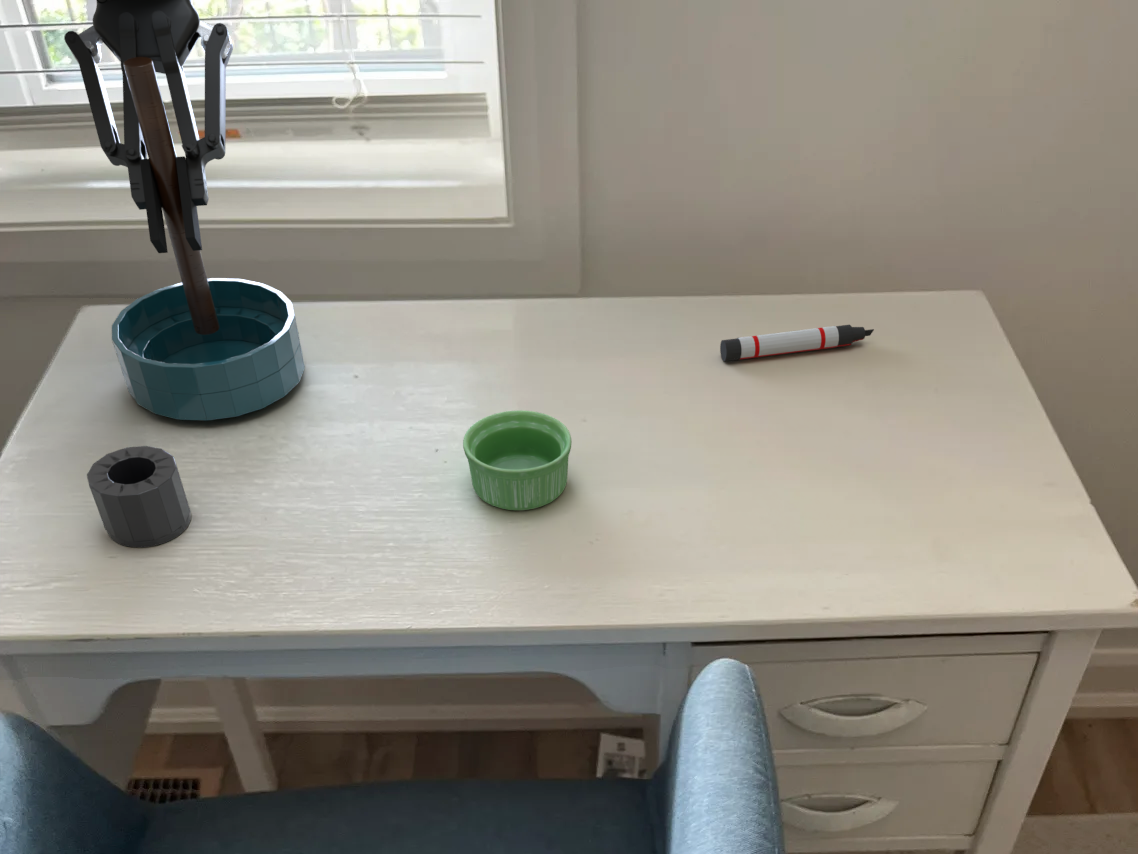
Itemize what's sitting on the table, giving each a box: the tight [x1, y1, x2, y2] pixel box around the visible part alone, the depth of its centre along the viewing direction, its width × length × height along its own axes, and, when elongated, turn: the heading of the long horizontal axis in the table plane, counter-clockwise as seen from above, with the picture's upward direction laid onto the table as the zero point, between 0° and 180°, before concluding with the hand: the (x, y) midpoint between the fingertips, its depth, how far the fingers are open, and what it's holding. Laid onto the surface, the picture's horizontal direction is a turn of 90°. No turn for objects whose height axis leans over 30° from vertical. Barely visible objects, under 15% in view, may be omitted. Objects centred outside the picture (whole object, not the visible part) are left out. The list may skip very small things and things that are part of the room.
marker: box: [719, 324, 875, 362], centre depth 115 cm, size 15×2×2 cm, turn 103°
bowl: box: [111, 277, 306, 421], centre depth 111 cm, size 16×16×6 cm
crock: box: [86, 445, 192, 548], centre depth 96 cm, size 7×7×5 cm
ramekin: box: [462, 409, 572, 511], centre depth 100 cm, size 9×9×4 cm
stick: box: [124, 57, 219, 335], centre depth 101 cm, size 2×2×22 cm
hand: (176, 245), depth 99 cm, fingers closed on stick, 2 cm apart
